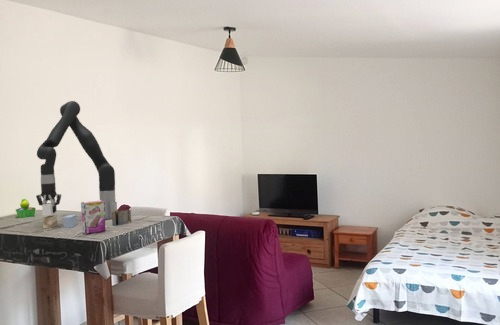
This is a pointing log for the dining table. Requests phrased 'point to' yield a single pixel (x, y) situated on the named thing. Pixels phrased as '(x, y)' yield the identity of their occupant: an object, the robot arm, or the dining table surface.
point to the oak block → (49, 221)
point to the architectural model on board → (121, 217)
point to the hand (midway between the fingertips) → (49, 212)
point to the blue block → (69, 221)
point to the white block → (48, 209)
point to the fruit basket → (25, 209)
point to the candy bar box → (93, 216)
